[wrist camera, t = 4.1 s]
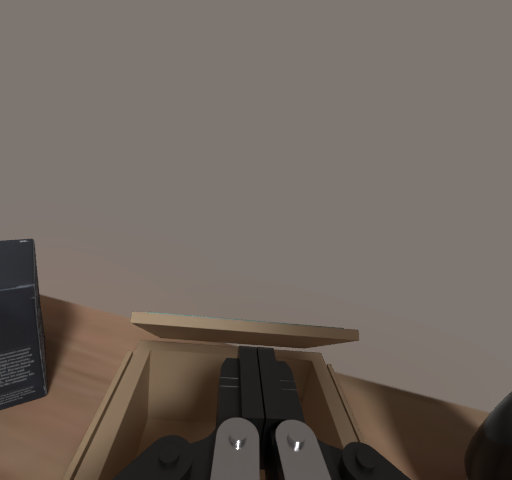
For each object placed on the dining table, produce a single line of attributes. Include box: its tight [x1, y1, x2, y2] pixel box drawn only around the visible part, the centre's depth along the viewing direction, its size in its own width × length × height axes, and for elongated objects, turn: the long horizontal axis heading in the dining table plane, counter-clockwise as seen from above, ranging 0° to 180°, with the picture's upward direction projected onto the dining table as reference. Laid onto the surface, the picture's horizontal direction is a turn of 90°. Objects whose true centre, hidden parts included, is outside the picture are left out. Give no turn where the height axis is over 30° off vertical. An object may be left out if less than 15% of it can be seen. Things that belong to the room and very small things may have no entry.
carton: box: [62, 340, 366, 480], centre depth 18 cm, size 15×13×7 cm
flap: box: [130, 312, 359, 348], centre depth 19 cm, size 11×1×9 cm
